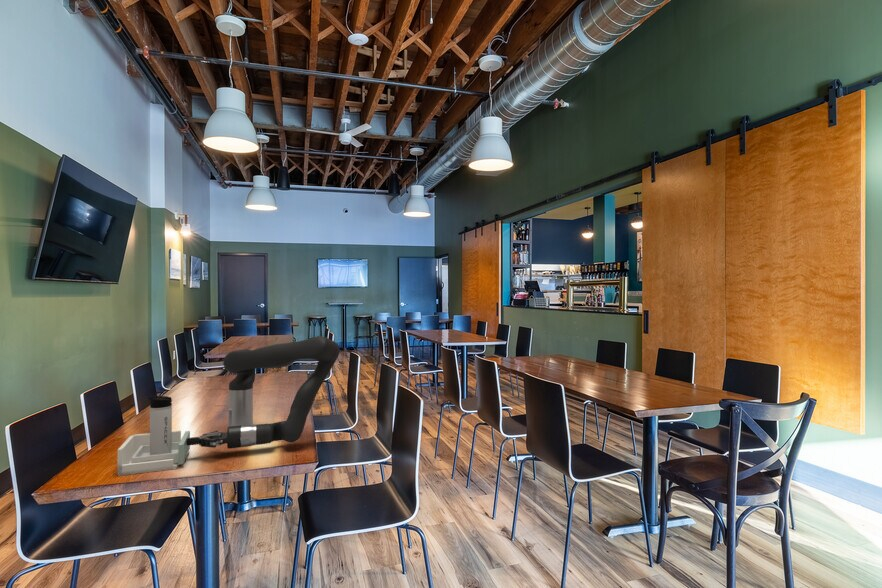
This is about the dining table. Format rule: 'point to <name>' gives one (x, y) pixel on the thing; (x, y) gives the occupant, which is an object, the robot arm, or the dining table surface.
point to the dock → (134, 468)
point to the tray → (177, 454)
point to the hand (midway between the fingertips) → (186, 441)
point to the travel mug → (160, 425)
